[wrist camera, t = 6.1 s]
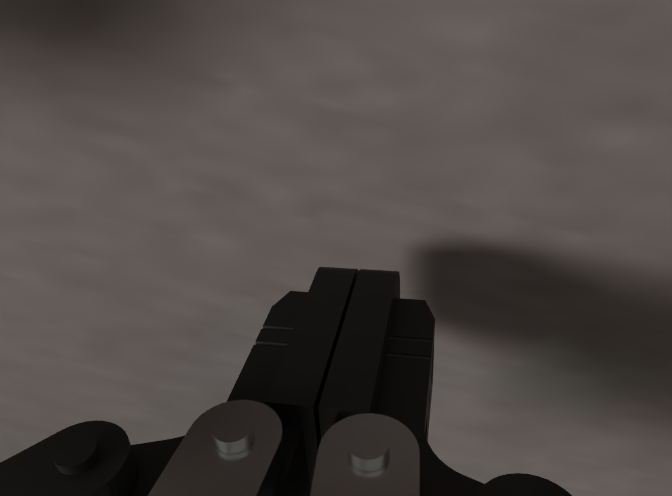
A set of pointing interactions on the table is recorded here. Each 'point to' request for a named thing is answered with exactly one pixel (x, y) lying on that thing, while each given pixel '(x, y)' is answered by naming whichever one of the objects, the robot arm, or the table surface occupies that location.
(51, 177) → the table surface
